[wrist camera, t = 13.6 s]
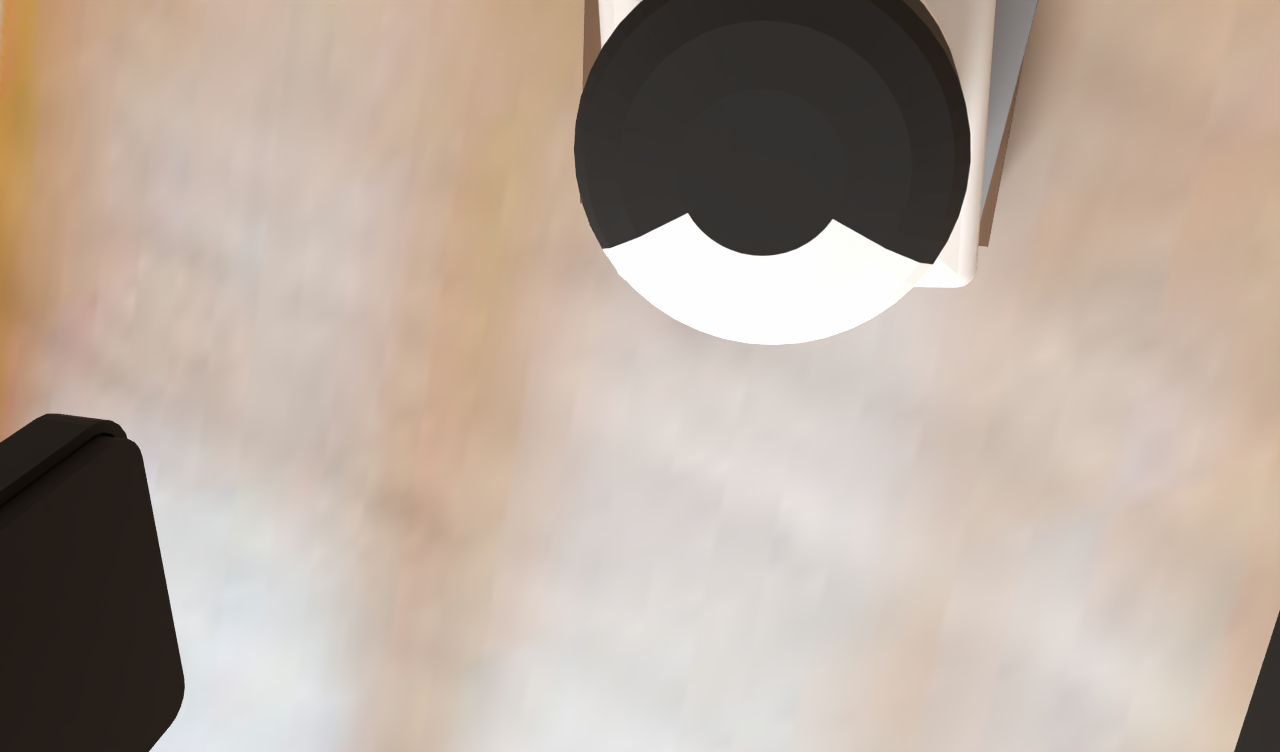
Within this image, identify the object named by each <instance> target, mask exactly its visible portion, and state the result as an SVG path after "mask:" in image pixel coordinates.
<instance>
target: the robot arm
mask: <svg viewBox="0 0 1280 752" xmlns="http://www.w3.org/2000/svg"><path fill="white" fill-rule="evenodd" d="M184 689H185V684H184V675H183V670H182V664H181V659H180V654H179V648H178V643H177V638H176V632H175V627H174V622H173V616H172V611H171V606H170V600H169V595H168V590H167V584H166V579H165V574H164V569H163V563H162V558H161V553H160V547H159V542H158V537H157V531H156V526H155V521H154V515H153V510H152V505H151V499H150V494H149V489H148V484H147V478H146V473H145V468H144V462H143V457H142V454H141V451H140V449H139V447H138V446H137V445H136V443H135V442H133V441H131V440H129V439H127V436H126V433H125V432H124V431H123V429H122V428H121V427H120V425H118V424H116V423H115V422H113V421H110V420H103V419H95V418H87V417H79V416H72V415H64V414H45V415H43V416H41V417H39V418H36V419H35V420H33V421H32V422H30V423H29V424H28V425H26V426H25V427H23V428H22V429H20V430H19V431H17V432H16V433H14V434H13V435H11V436H10V437H8V438H7V439H5V440H4V441H2V442H1V443H0V752H149V751H150V750H151V748H152V747H153V746H154V745H155V743H156V742H157V741H158V740H159V739H160V737H161V736H162V735H163V734H164V733H165V731H166V730H167V729H168V728H169V727H170V725H171V724H172V722H173V721H174V719H175V718H176V716H177V714H178V712H179V710H180V707H181V704H182V700H183V697H184ZM1234 752H1280V612H1279V615H1278V618H1277V621H1276V624H1275V627H1274V630H1273V633H1272V636H1271V639H1270V642H1269V646H1268V649H1267V652H1266V655H1265V658H1264V661H1263V664H1262V667H1261V670H1260V673H1259V677H1258V680H1257V683H1256V686H1255V689H1254V692H1253V695H1252V698H1251V701H1250V704H1249V708H1248V711H1247V714H1246V717H1245V720H1244V723H1243V726H1242V729H1241V732H1240V735H1239V739H1238V742H1237V745H1236V748H1235V751H1234Z"/></svg>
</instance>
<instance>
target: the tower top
mask: <svg viewBox="0 0 1280 752" xmlns="http://www.w3.org/2000/svg"><path fill="white" fill-rule="evenodd" d="M1037 2H1038V0H996V6H995V20H994V34H993V48H992V62H991V76H990V90H989V104H988V118H987V132H986V146H985V160H984V174H983V188H982V202H981V216H982V212H983V208H984V205H985V201H986V197H987V193H988V189H989V185H990V182H991V178H992V174H993V170H994V166H995V163H996V159H997V155H998V151H999V147H1000V143H1001V140H1002V136H1003V132H1004V128H1005V124H1006V120H1007V117H1008V113H1009V109H1010V105H1011V101H1012V97H1013V94H1014V90H1015V86H1016V82H1017V78H1018V74H1019V71H1020V67H1021V63H1022V59H1023V55H1024V52H1025V48H1026V44H1027V40H1028V36H1029V32H1030V29H1031V25H1032V21H1033V17H1034V13H1035V9H1036V6H1037ZM981 216H980V220H981Z"/></svg>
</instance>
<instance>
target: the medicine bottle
mask: <svg viewBox="0 0 1280 752" xmlns="http://www.w3.org/2000/svg"><path fill="white" fill-rule="evenodd" d="M598 2H599V18H600V33H601V51H600V53H599V55H598V57H597V59H596V60H595V62H594V64H593V66H592V68H591V70H590V73H589V75H588V78H587V81H586V84H585V87H584V90H583V92H582V95H581V99H580V104H579V109H578V114H577V119H576V127H575V143H574V155H575V168H576V178H577V182H578V187H579V192H580V196H581V201H582V204H583V207H584V210H585V212H586V215H587V218H588V221H589V223H590V226H591V228H592V230H593V232H594V234H595V236H596V238H597V240H598V242H599V243H600V245H601V247H602V249H603V251H604V252H605V253H606V255H607V256H608V258H609V259H610V261H611V262H612V263H613V265H614V266H615V268H616V269H617V272H618V274H619V275H620V276H621V277H622V278H623V279H625V280H627V281H628V283H629V284H630V285H631V286H632V287H633V288H634V289H635V290H636V291H637V292H639V293H640V294H641V295H642V296H643V297H644V298H646V299H647V300H648V301H649V302H650V303H652V304H653V305H654V306H656V307H657V308H659V309H660V310H662V311H663V312H665V313H666V314H668V315H669V316H671V317H673V318H674V319H676V320H678V321H680V322H682V323H684V324H686V325H688V326H690V327H693V328H695V329H697V330H699V331H702V332H705V333H708V334H711V335H714V336H717V337H720V338H724V339H729V340H734V341H740V342H745V343H755V344H771V345H776V344H791V343H802V342H807V341H812V340H817V339H822V338H826V337H829V336H832V335H835V334H838V333H841V332H844V331H847V330H850V329H852V328H854V327H856V326H858V325H860V324H862V323H864V322H866V321H868V320H870V319H872V318H874V317H875V316H877V315H878V314H880V313H881V312H883V311H884V310H886V309H887V308H889V307H890V306H892V305H893V304H895V303H896V302H897V301H898V300H899V299H900V298H902V297H903V296H904V295H905V294H906V293H907V292H908V291H909V290H910V289H912V288H913V287H951V288H956V287H961V286H965V285H966V284H967V283H969V282H970V281H971V280H972V279H973V278H974V275H975V272H976V269H977V258H978V244H979V230H980V216H981V202H982V188H983V174H984V160H985V146H986V132H987V118H988V104H989V90H990V76H991V62H992V48H993V34H994V20H995V6H996V0H598Z"/></svg>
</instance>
